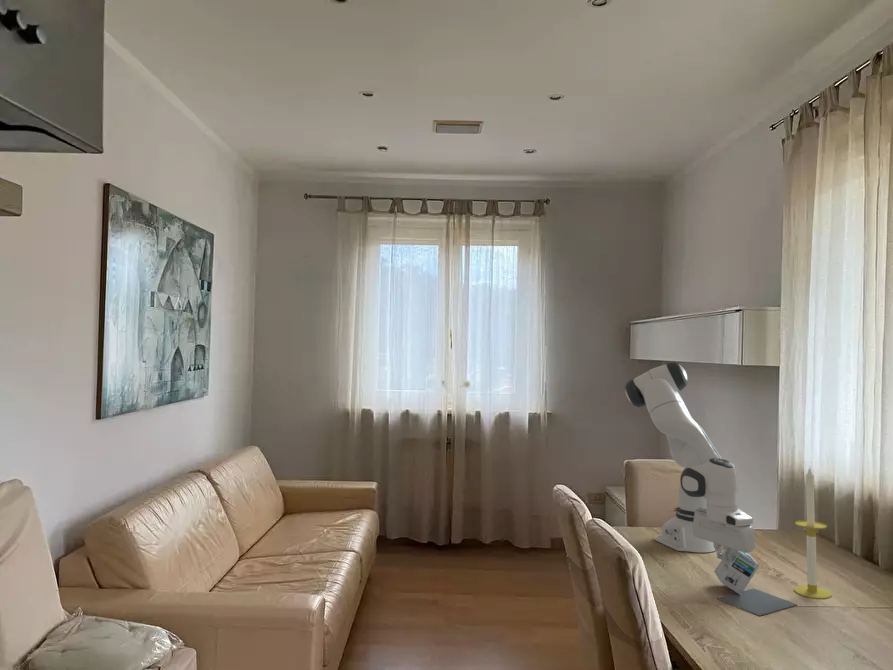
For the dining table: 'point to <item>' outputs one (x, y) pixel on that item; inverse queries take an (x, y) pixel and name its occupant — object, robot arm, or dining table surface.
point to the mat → (757, 602)
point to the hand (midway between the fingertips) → (722, 559)
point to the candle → (811, 545)
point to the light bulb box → (736, 570)
